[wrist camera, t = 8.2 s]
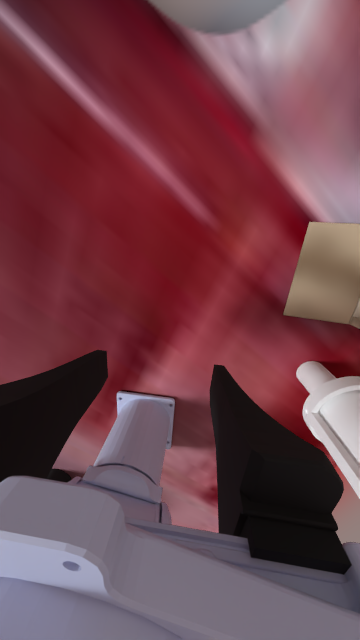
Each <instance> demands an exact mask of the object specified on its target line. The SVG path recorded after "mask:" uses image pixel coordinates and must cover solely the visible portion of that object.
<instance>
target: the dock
mask: <svg viewBox="0 0 360 640" xmlns="http://www.w3.org/2000/svg"><path fill="white" fill-rule="evenodd" d="M283 315H287V316H294V317H301V318H308V319H316V320H323V321H330V322H337V323H344V324H350V325H352V326H354V327H357V328H359V329H360V224H347V223H322V222H309V225H308V229H307V232H306V236H305V239H304V243H303V246H302V250H301V253H300V257H299V260H298V264H297V268H296V271H295V275H294V278H293V282H292V285H291V289H290V292H289V296H288V299H287V303H286V306H285V310H284V313H283Z"/></svg>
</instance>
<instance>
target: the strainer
mask: <svg viewBox="0 0 360 640" xmlns="http://www.w3.org/2000/svg"><path fill="white" fill-rule="evenodd" d="M296 375H297V378H298V379H299V380H300V382H301V383H302V384H303V385H304V387H305V388H306V389H307V390H308V392H309V393H310V395H309V396H308V398H307V399H306V401H305V403H304V406H303V418H304V420H305V422H306V424H307V426H308V427H309V429H310V430H311V432H312V433H313V435H314V436H315V437H316V438H317V439H318V440H319V441H321V442H323V444H324V445H325V447H326V448H327V450H328V451H329V453H330V454H331V456H332V458H333V459H334V461H335V462H336V464H337V465H338V467H339V468H340V470H341V471H342V473H343V474H344V476H345V477H346V478H347V480H348V482H349V483H350V485H351V486H352V488H353V489H354V491H355V493H356V494H357V496H358V497H359V499H360V377H359V376H348V377H341V378H336V377H335V376H334V375H333V374H331V373H330V372H329V371H328V370H327V369H326V368H325V367H324V366H323V365H322V364H320V363H319V362H316V361H309V362H306V363H304V364H302V365H301V366H300V367H299V368H298V369H297V372H296Z"/></svg>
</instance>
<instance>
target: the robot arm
mask: <svg viewBox="0 0 360 640" xmlns="http://www.w3.org/2000/svg"><path fill="white" fill-rule="evenodd" d="M107 377H108V369H107V351H102V350H96V351H93V352H91V353H89V354H86V355H84V356H82V357H80V358H77V359H75V360H73V361H71V362H69V363H66V364H64V365H61V366H59V367H56V368H54V369H52V370H49V371H46V372H43V373H41V374H38V375H35V376H32V377H28V378H25V379H21V380H18V381H14V382H10V383H7V384H2V385H0V640H360V543H355V542H347V543H343V544H341V542H340V540H339V538H338V536H337V534H336V532H335V531H337V530H338V526H337V524H336V521H335V520H334V518H333V516H332V514H331V513H332V511H333V510H334V508H335V506H336V505H337V503H338V502H339V500H340V498H341V496H342V493H343V490H344V488H343V482H342V480H341V478H340V477H339V475H338V474H337V472H336V470H335V469H334V467H333V465H332V464H331V462H330V461H329V459H328V458H327V456H326V455H325V454H324V452H323V451H321V450H319V449H318V448H316V447H314V446H313V445H311V444H309V443H308V442H306V441H304V440H303V439H301V438H299V437H298V436H296V435H295V434H293V433H292V432H291V431H289V430H288V429H286V428H285V427H283V426H282V425H281V424H279V423H278V422H277V421H275V420H274V419H273V418H272V417H270V416H269V415H268V414H267V413H266V412H264V411H263V410H262V409H261V408H260V407H259V406H258V405H257V404H256V403H254V402H253V401H252V400H251V399H250V398H249V396H248V395H247V394H246V393H245V392H244V391H243V390H242V389H241V388H240V386H239V385H238V384H237V383H236V381H235V380H234V379H233V378H232V376H231V375H230V373H229V372H228V371H227V369H226V368H225V367H224V366H222V365H214V369H213V375H212V381H211V386H210V408H211V415H212V422H213V429H214V436H215V444H216V460H217V483H218V519H219V533H215V532H209V531H204V530H198V529H192V528H187V527H181V526H176V525H172V522H171V515H170V512H169V510H168V506H167V504H166V503H164V502H161V496H162V489H163V488H162V487H159V485H160V479H161V473H162V467H163V461H164V455H165V449H170V448H171V441H172V430H173V418H174V406H175V400H174V399H173V398H168V397H161V396H153V395H146V394H138V393H131V392H123V391H119V392H118V393H117V410H118V417H117V419H116V421H115V423H114V425H113V427H112V429H111V431H110V433H109V435H108V437H107V439H106V441H105V443H104V445H103V447H102V449H101V451H100V453H99V455H98V457H97V459H96V461H95V463H94V465H93V466H89V467H88V469H87V470H86V472H85V474H84V476H83V478H81V477H78V476H76V477H74V478H73V479H72V480H71V481H69V482H68V483H66V482H60V481H54V480H48V479H46V478H47V476H48V475H49V473H50V471H51V469H52V467H53V465H54V463H55V461H56V459H57V457H58V456H59V454H60V452H61V450H62V448H63V446H64V445H65V443H66V441H67V439H68V438H69V436H70V434H71V433H72V431H73V429H74V427H75V426H76V424H77V423H78V421H79V420H80V418H81V417H82V416H83V414H84V413H85V412H86V410H87V409H88V407H89V406H90V405H91V403H92V402H93V400H94V399H95V398H96V396H97V395H98V393H99V392H100V390H101V389H102V387H103V385H104V383H105V381H106V379H107ZM120 397H121V398H120ZM170 404H172V405H170Z"/></svg>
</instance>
